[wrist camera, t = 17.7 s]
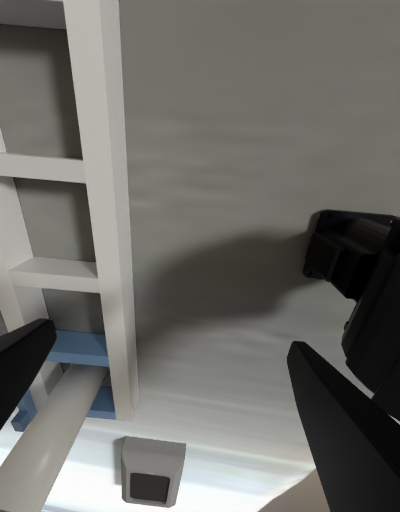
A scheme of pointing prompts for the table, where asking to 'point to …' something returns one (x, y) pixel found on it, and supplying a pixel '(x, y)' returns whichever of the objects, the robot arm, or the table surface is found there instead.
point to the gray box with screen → (151, 471)
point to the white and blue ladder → (101, 212)
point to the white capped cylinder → (48, 440)
